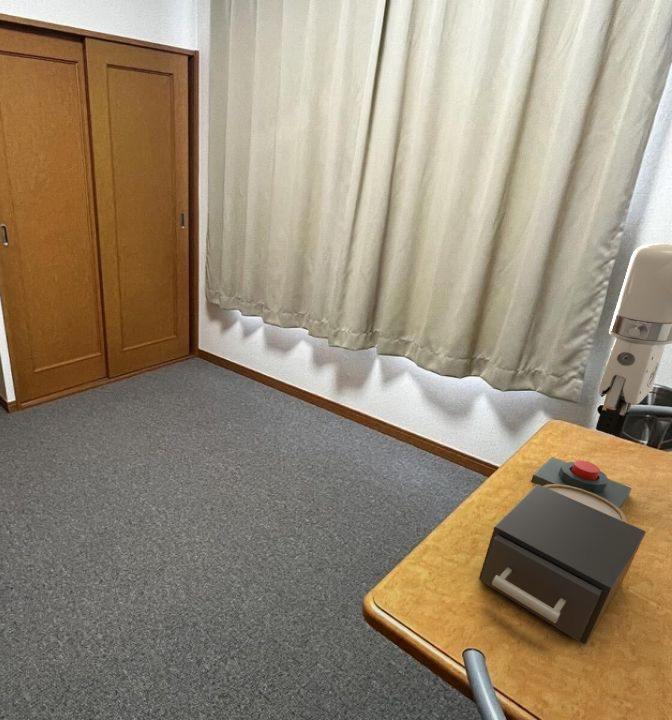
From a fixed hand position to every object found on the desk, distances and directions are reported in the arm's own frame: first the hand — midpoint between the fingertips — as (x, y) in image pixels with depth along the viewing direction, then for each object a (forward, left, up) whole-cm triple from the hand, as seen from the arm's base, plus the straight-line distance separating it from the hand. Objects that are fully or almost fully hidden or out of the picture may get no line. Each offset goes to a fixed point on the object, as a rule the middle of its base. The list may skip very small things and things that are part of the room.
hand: (608, 431), depth 79 cm
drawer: (-3, +31, -12) cm, 33 cm away
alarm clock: (-2, +12, -12) cm, 18 cm away
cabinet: (-3, +27, -13) cm, 30 cm away
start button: (+1, 0, -9) cm, 10 cm away
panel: (+1, 0, -13) cm, 13 cm away
